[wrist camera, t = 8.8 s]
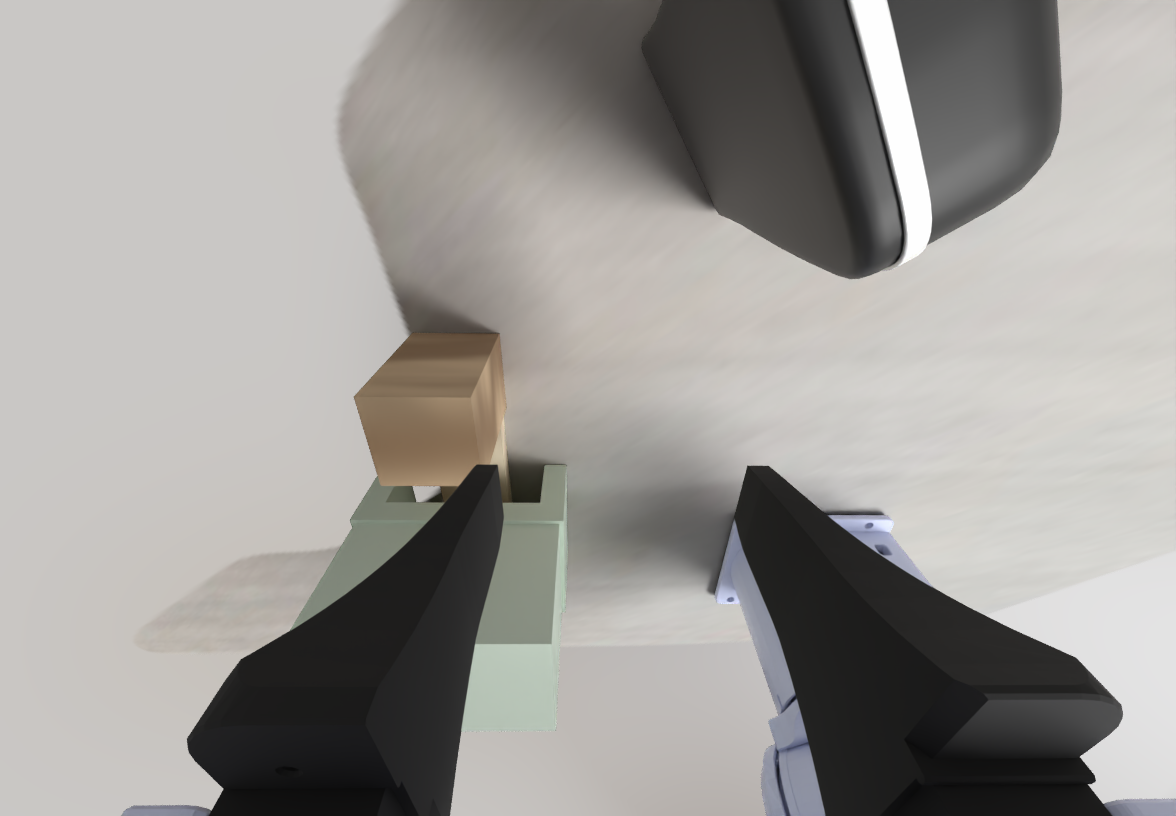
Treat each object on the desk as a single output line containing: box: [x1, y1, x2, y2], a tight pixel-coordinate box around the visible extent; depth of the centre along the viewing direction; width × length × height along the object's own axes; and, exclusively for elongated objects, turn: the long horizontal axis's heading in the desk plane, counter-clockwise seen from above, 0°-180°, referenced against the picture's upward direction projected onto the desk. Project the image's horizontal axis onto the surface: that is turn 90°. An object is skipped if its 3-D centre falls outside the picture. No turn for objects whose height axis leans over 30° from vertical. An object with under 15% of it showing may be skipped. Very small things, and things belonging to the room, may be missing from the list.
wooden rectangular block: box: [354, 333, 512, 503], centre depth 21 cm, size 14×4×6 cm, turn 179°
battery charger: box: [642, 0, 1062, 279], centre depth 11 cm, size 7×4×11 cm, turn 34°
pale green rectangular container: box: [290, 465, 568, 731], centre depth 22 cm, size 7×10×10 cm
